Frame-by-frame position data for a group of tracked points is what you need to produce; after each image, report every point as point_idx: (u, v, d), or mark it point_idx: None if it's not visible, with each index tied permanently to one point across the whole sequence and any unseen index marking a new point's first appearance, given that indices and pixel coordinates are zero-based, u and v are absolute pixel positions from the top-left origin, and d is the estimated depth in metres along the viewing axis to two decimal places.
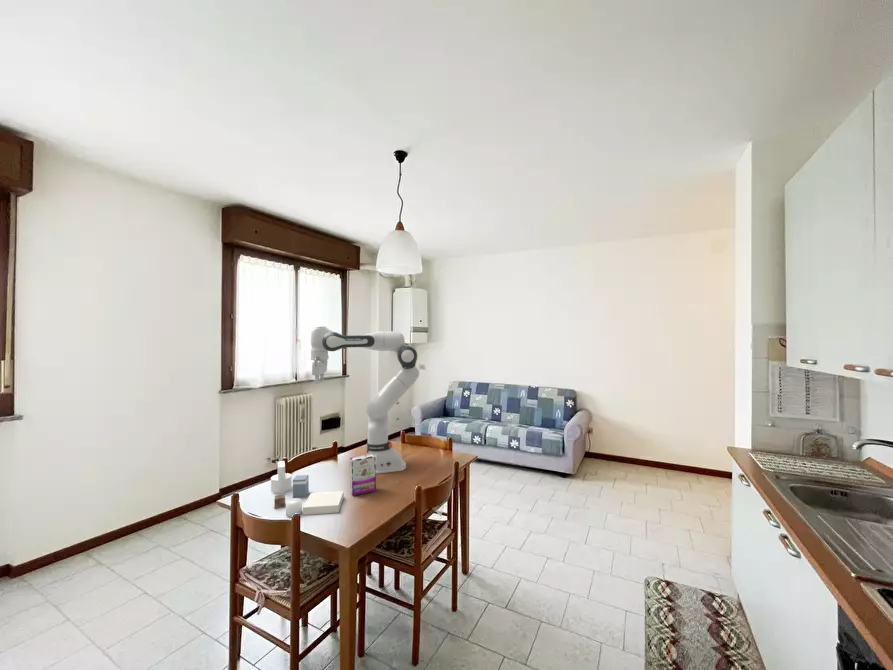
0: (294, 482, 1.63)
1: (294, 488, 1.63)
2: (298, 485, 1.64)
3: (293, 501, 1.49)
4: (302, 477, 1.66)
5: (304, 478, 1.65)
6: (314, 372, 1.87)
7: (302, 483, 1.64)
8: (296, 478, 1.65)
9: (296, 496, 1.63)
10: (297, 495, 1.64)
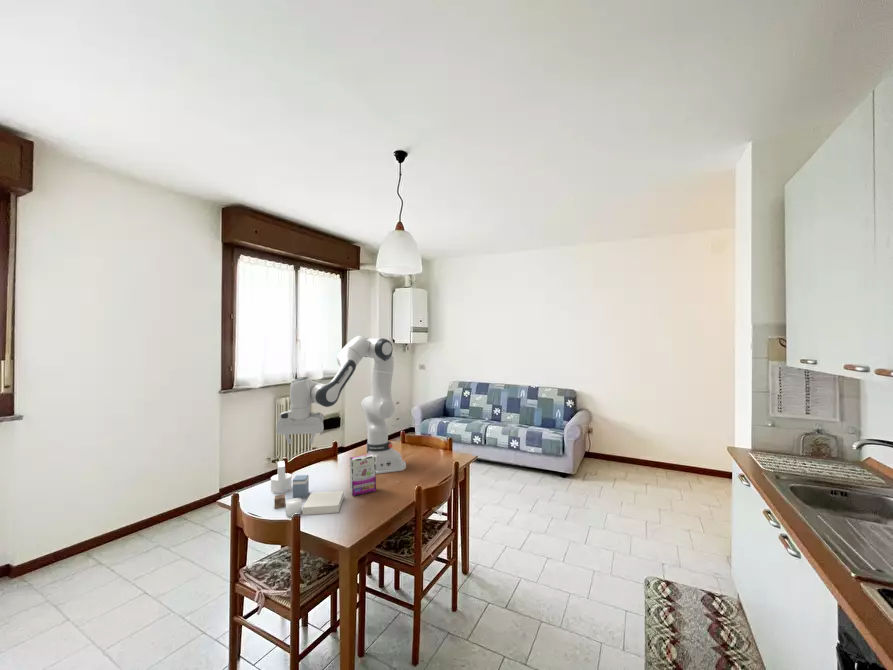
0: (294, 482, 1.63)
1: (294, 488, 1.63)
2: (298, 485, 1.64)
3: (293, 501, 1.49)
4: (302, 477, 1.66)
5: (304, 478, 1.65)
6: (322, 429, 1.67)
7: (302, 483, 1.64)
8: (296, 478, 1.65)
9: (296, 496, 1.63)
10: (297, 495, 1.64)
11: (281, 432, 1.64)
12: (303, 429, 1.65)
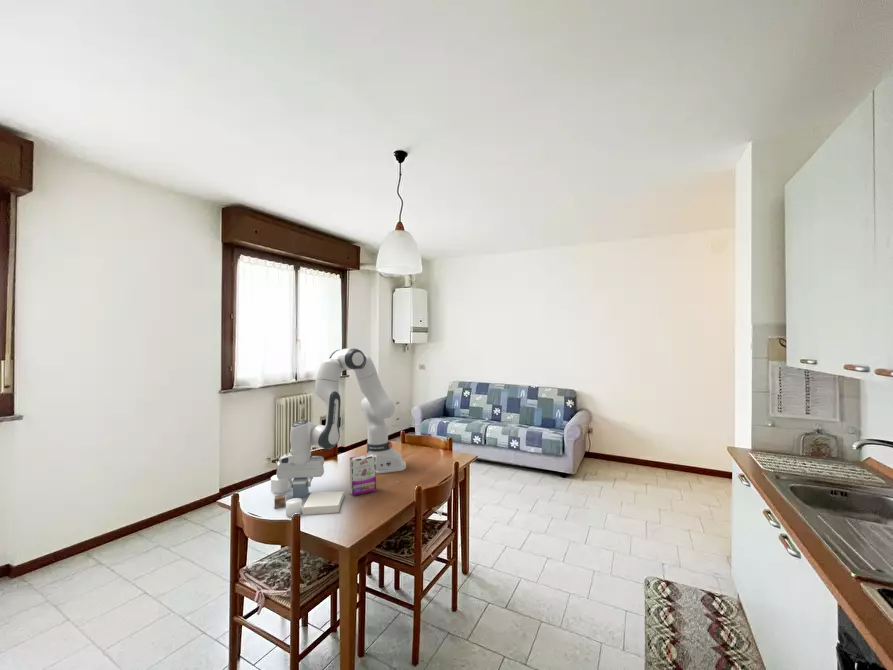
0: (294, 482, 1.63)
1: (294, 488, 1.63)
2: (298, 485, 1.64)
3: (293, 501, 1.49)
4: None
5: (304, 478, 1.65)
6: (323, 472, 1.67)
7: (302, 483, 1.64)
8: (296, 478, 1.65)
9: (296, 496, 1.63)
10: (297, 495, 1.64)
11: (282, 477, 1.64)
12: (304, 473, 1.65)
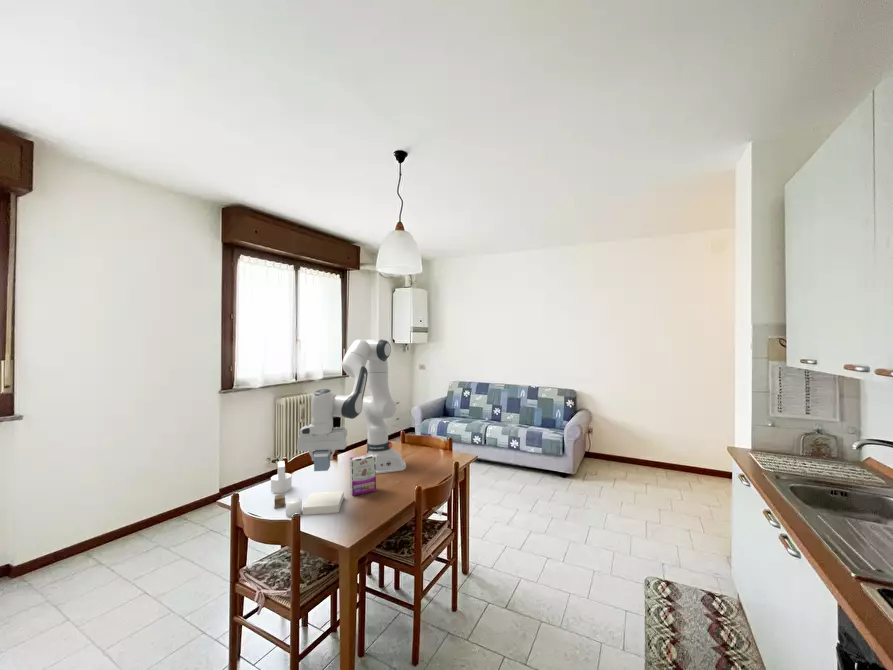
0: (315, 454, 1.53)
1: (315, 461, 1.53)
2: (320, 458, 1.53)
3: (293, 501, 1.49)
4: (324, 450, 1.56)
5: (326, 450, 1.54)
6: (346, 445, 1.57)
7: (324, 455, 1.53)
8: (317, 450, 1.55)
9: (317, 469, 1.53)
10: (319, 468, 1.53)
11: (302, 449, 1.53)
12: (326, 445, 1.54)
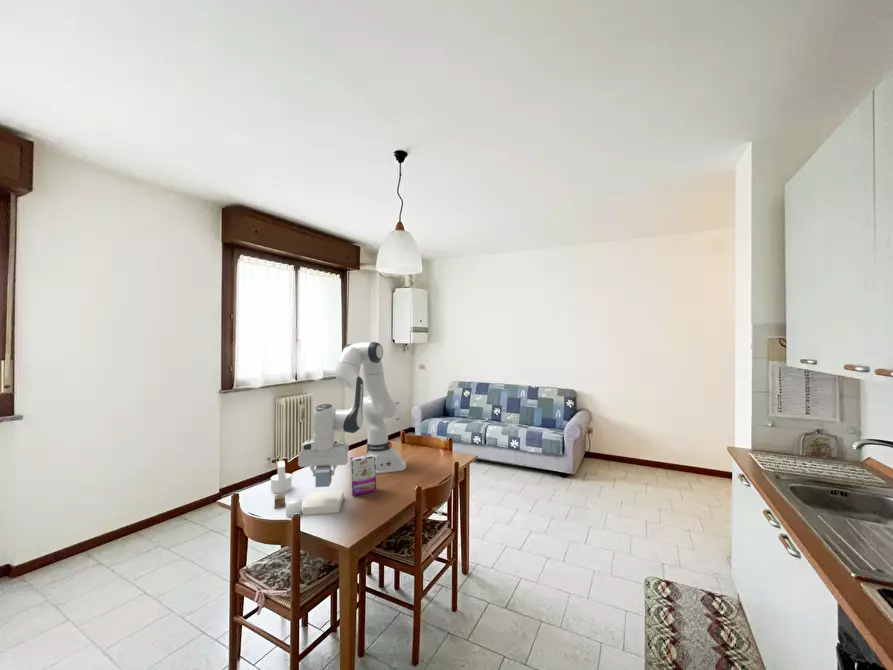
0: (317, 470, 1.52)
1: (317, 477, 1.52)
2: (321, 473, 1.52)
3: (293, 501, 1.49)
4: None
5: (327, 466, 1.54)
6: (347, 460, 1.56)
7: (325, 471, 1.52)
8: (319, 466, 1.54)
9: (319, 485, 1.52)
10: (320, 484, 1.52)
11: (304, 464, 1.52)
12: (327, 460, 1.54)
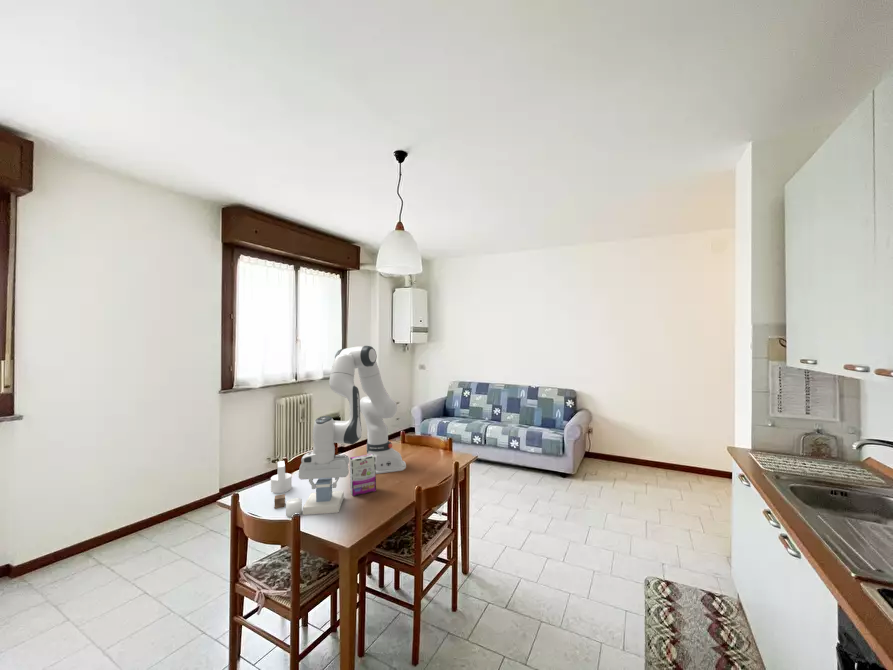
0: (317, 485, 1.52)
1: (317, 491, 1.52)
2: (322, 488, 1.52)
3: (293, 501, 1.49)
4: (326, 480, 1.55)
5: (328, 481, 1.54)
6: (348, 472, 1.56)
7: (326, 486, 1.53)
8: (319, 481, 1.54)
9: (320, 500, 1.52)
10: (321, 499, 1.52)
11: (304, 477, 1.52)
12: (328, 473, 1.54)
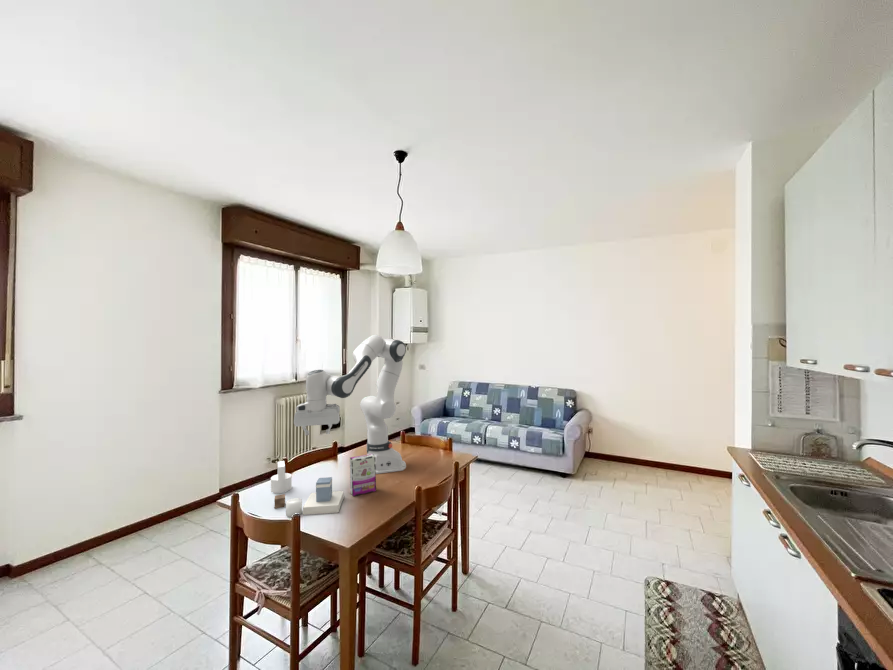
0: (317, 485, 1.52)
1: (317, 491, 1.52)
2: (322, 488, 1.52)
3: (293, 501, 1.49)
4: (326, 480, 1.55)
5: (328, 481, 1.54)
6: (339, 420, 1.71)
7: (326, 486, 1.53)
8: (319, 481, 1.54)
9: (320, 500, 1.52)
10: (321, 499, 1.52)
11: (299, 424, 1.67)
12: (320, 420, 1.69)
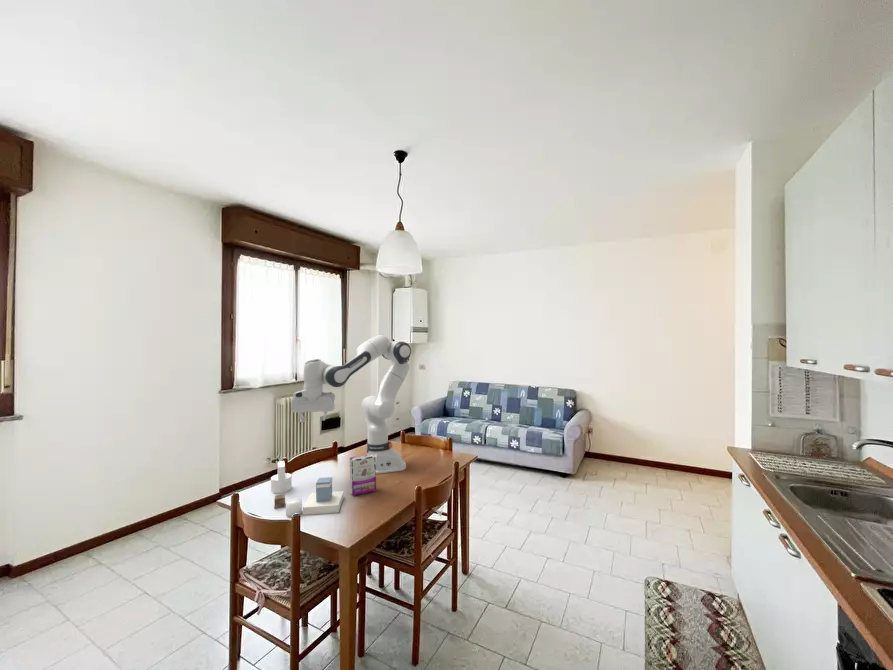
0: (317, 485, 1.52)
1: (317, 491, 1.52)
2: (322, 488, 1.52)
3: (293, 501, 1.49)
4: (326, 480, 1.55)
5: (328, 481, 1.54)
6: (334, 407, 1.80)
7: (326, 486, 1.53)
8: (319, 481, 1.54)
9: (320, 500, 1.52)
10: (321, 499, 1.52)
11: (296, 410, 1.76)
12: (316, 407, 1.77)
